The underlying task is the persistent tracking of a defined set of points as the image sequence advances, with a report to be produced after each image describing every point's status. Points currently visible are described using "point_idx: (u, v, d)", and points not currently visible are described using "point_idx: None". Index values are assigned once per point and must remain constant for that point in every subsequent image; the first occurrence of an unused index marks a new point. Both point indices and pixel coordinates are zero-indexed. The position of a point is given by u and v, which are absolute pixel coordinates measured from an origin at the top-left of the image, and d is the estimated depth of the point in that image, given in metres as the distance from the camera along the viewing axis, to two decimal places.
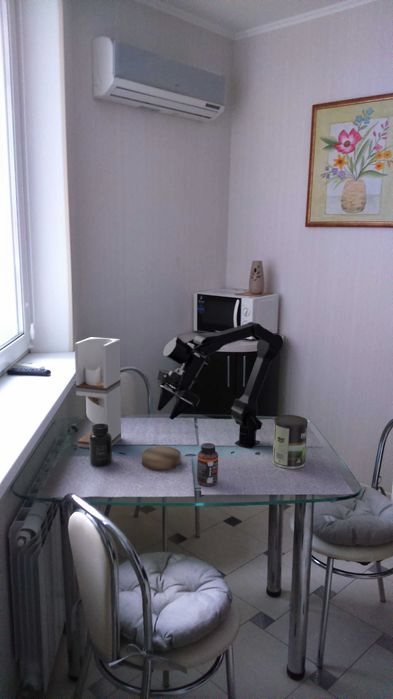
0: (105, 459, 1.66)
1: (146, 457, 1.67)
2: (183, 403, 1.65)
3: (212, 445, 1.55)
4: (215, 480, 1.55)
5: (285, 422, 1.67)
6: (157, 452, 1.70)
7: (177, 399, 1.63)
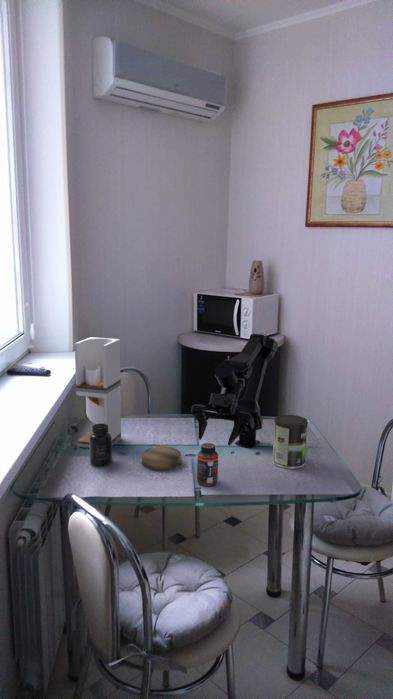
0: (105, 459, 1.66)
1: (146, 457, 1.67)
2: (238, 427, 1.60)
3: (212, 445, 1.55)
4: (215, 480, 1.55)
5: (285, 422, 1.67)
6: (157, 452, 1.70)
7: (238, 423, 1.57)
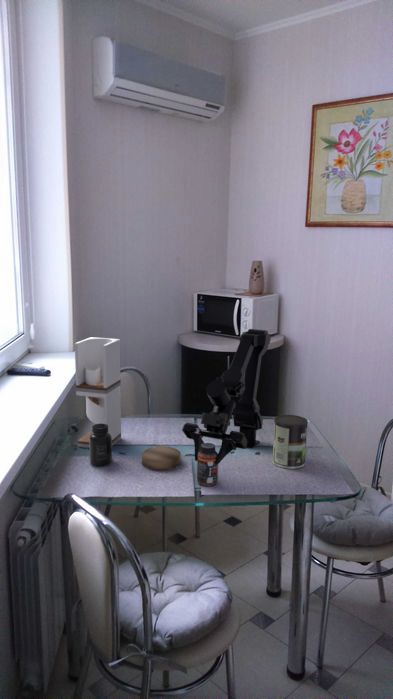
0: (105, 459, 1.66)
1: (146, 457, 1.67)
2: (226, 446, 1.56)
3: (212, 445, 1.55)
4: (215, 480, 1.55)
5: (285, 422, 1.67)
6: (157, 452, 1.70)
7: (225, 442, 1.54)
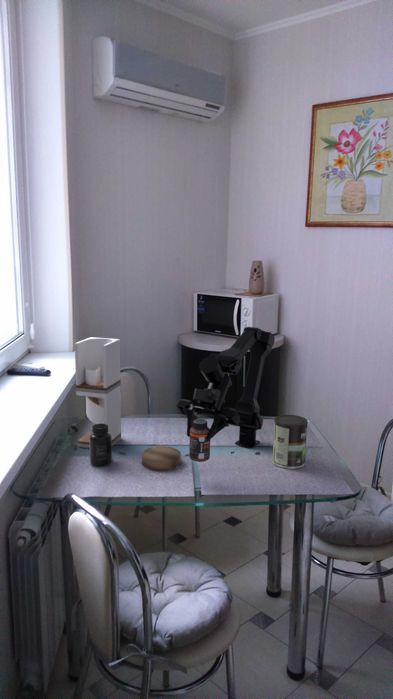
0: (105, 459, 1.66)
1: (146, 457, 1.67)
2: (218, 423, 1.56)
3: (204, 421, 1.55)
4: (207, 456, 1.55)
5: (285, 422, 1.67)
6: (157, 452, 1.70)
7: (217, 418, 1.53)
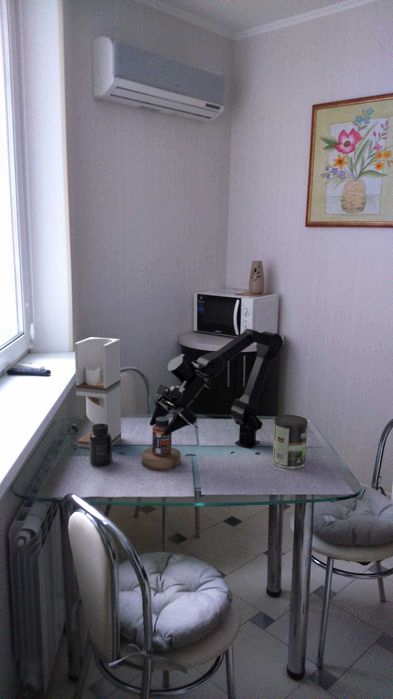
0: (105, 459, 1.66)
1: (146, 457, 1.67)
2: (179, 420, 1.64)
3: (165, 419, 1.66)
4: (164, 452, 1.66)
5: (285, 422, 1.67)
6: None
7: (175, 415, 1.62)
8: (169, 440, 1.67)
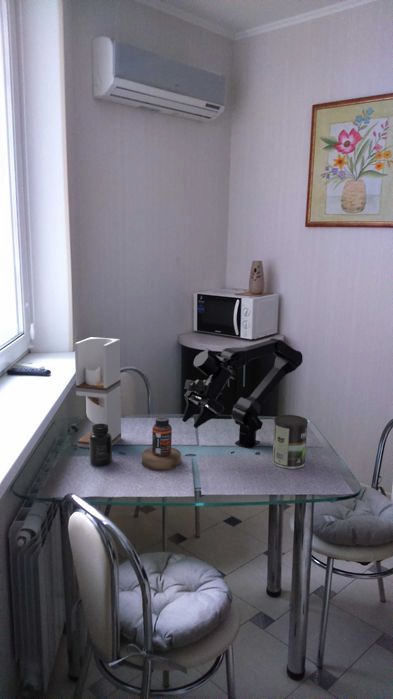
0: (105, 459, 1.66)
1: (146, 457, 1.67)
2: (208, 412, 1.68)
3: (165, 419, 1.66)
4: (164, 452, 1.66)
5: (285, 422, 1.67)
6: None
7: (202, 407, 1.66)
8: (169, 440, 1.67)
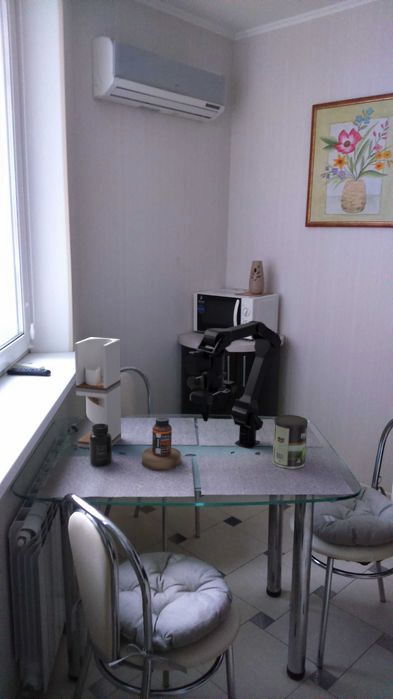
0: (105, 459, 1.66)
1: (146, 457, 1.67)
2: (205, 404, 1.67)
3: (165, 419, 1.66)
4: (164, 452, 1.66)
5: (285, 422, 1.67)
6: None
7: None
8: (169, 440, 1.67)
